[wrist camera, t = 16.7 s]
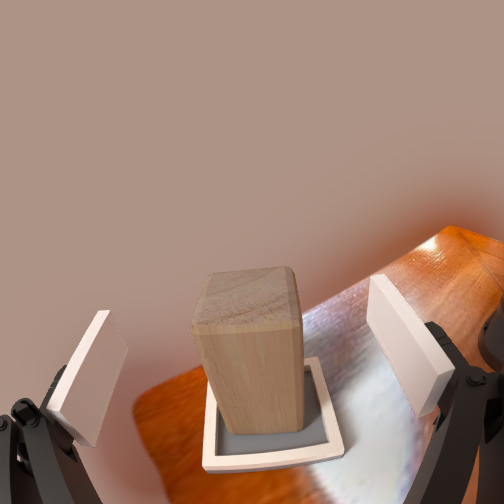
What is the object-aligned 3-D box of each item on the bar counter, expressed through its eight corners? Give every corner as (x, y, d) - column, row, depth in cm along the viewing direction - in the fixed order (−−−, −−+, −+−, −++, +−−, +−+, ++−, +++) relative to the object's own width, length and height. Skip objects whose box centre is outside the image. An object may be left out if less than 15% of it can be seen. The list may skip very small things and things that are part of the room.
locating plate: (317, 367, 44) (317, 356, 43) (342, 457, 28) (344, 449, 27) (212, 380, 44) (209, 369, 43) (207, 473, 29) (202, 466, 27)
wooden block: (233, 383, 42) (204, 270, 33) (299, 378, 41) (293, 261, 32) (227, 437, 33) (185, 326, 24) (304, 434, 32) (303, 318, 23)
